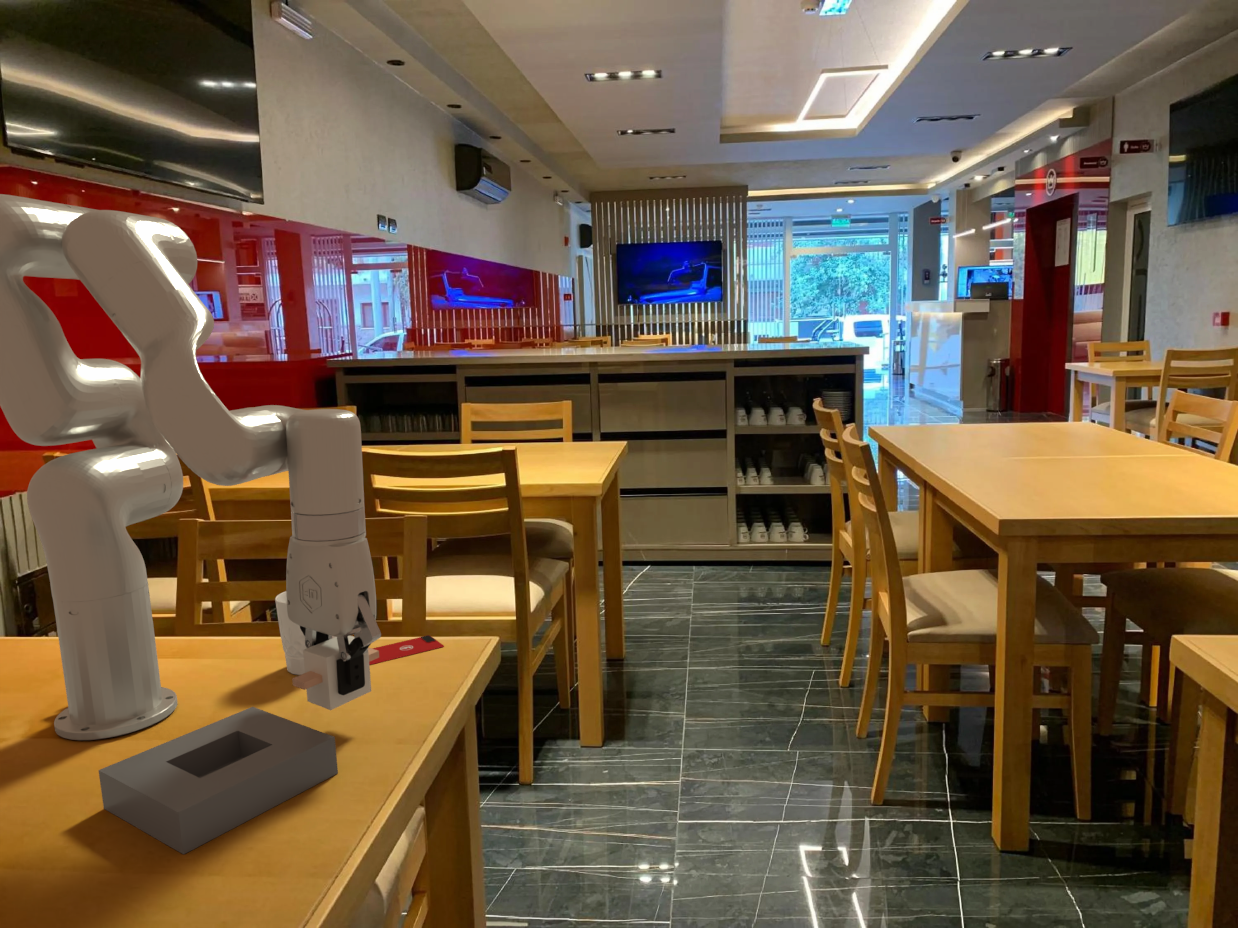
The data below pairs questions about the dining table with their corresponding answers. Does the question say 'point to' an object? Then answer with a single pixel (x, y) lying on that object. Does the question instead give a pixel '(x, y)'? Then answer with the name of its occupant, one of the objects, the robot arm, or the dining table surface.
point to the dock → (217, 777)
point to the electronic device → (406, 648)
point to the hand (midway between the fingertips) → (337, 683)
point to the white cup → (290, 637)
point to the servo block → (329, 674)
